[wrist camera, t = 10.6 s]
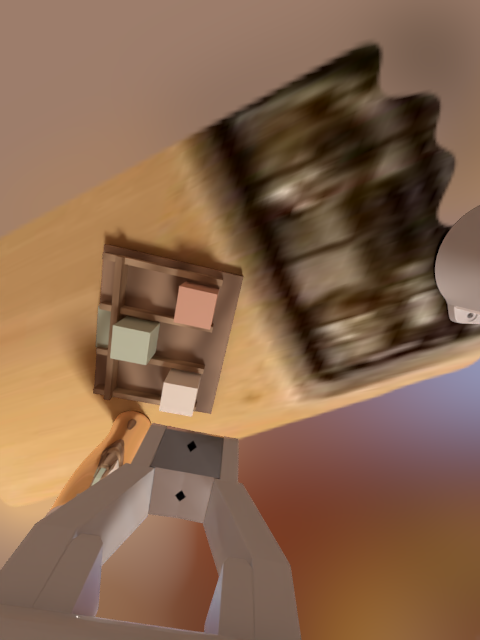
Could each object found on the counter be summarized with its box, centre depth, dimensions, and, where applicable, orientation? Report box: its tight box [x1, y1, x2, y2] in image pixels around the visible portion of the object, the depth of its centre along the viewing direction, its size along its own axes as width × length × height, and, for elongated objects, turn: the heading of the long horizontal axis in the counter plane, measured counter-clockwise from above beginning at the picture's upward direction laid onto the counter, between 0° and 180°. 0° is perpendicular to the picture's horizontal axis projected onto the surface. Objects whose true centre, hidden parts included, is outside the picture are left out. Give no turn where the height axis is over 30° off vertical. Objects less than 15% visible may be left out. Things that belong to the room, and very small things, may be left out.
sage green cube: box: [110, 316, 160, 365], centre depth 32 cm, size 4×4×4 cm
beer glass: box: [46, 411, 151, 516], centre depth 32 cm, size 7×7×15 cm
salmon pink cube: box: [174, 281, 219, 330], centre depth 31 cm, size 4×4×4 cm
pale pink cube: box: [159, 368, 201, 417], centre depth 34 cm, size 4×4×4 cm
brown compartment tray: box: [93, 244, 243, 414], centre depth 34 cm, size 18×22×3 cm
